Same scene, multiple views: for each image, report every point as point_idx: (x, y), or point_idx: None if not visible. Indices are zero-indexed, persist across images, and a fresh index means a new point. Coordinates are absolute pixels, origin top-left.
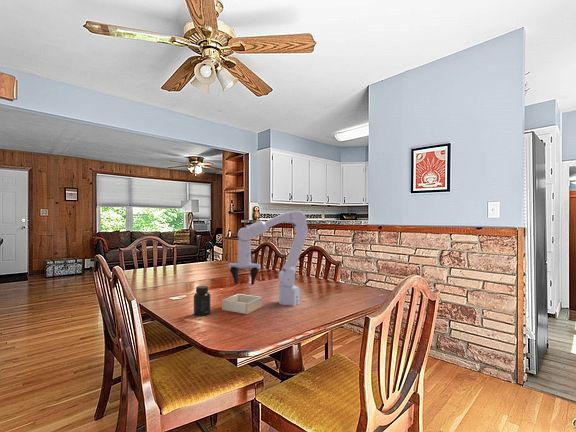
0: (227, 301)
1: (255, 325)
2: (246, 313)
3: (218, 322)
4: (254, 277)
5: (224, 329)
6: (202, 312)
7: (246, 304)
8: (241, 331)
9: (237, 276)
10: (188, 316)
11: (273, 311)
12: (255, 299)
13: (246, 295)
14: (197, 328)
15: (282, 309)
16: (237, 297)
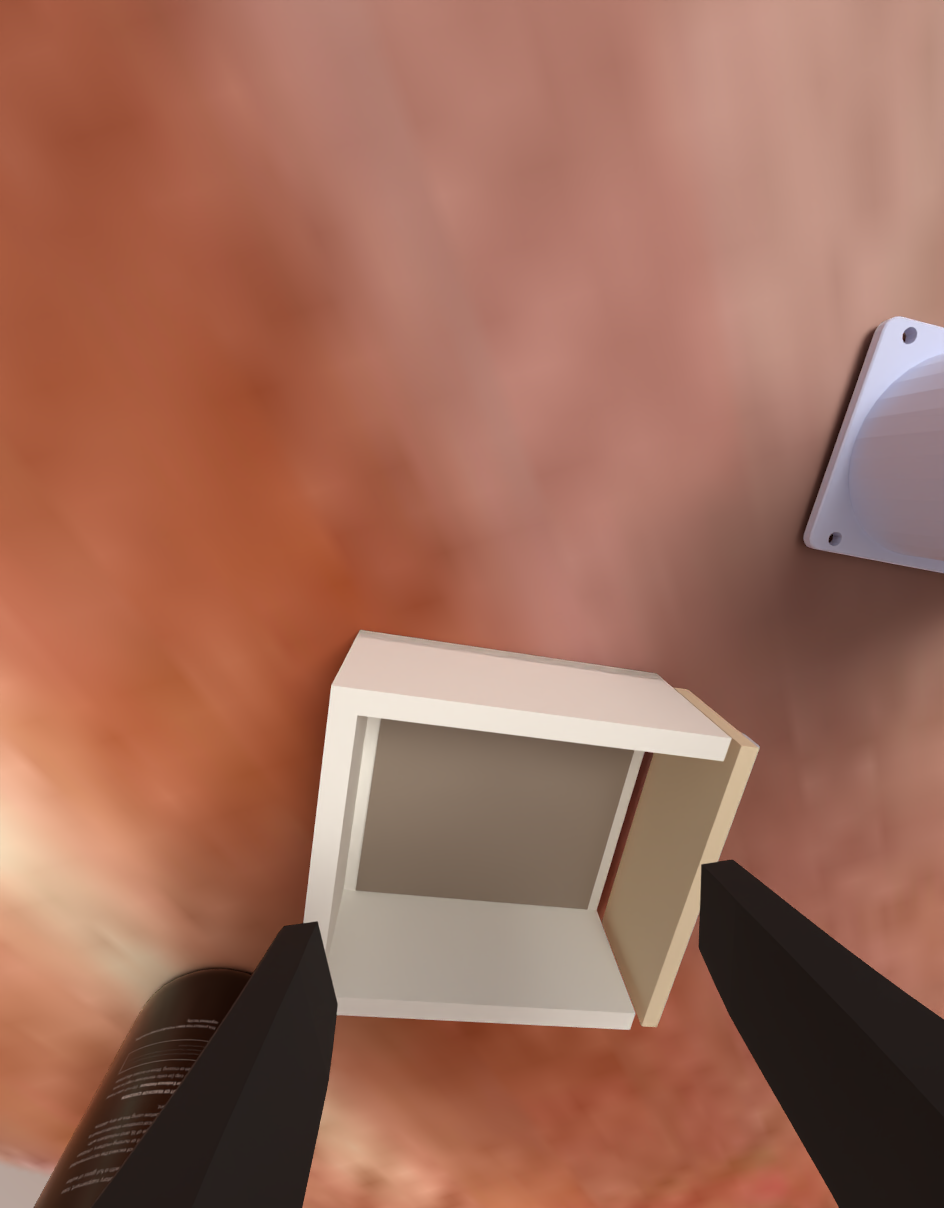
0: (380, 1008)
1: (729, 1038)
2: (604, 923)
3: (447, 1077)
4: (900, 1039)
5: (552, 1144)
6: None
7: (638, 1014)
8: (669, 1132)
9: (232, 1187)
10: None
11: (808, 737)
12: (698, 870)
13: (502, 731)
14: (371, 1186)
15: (889, 654)
16: (358, 727)
